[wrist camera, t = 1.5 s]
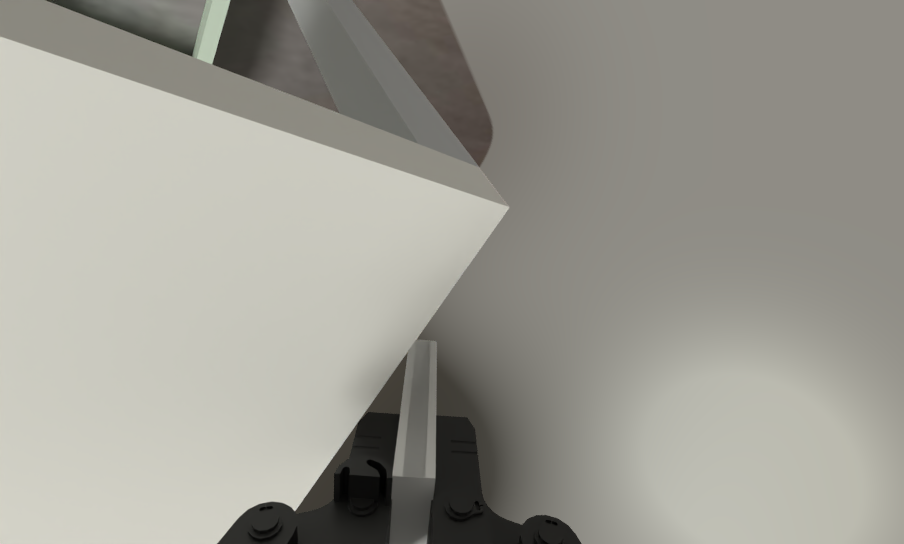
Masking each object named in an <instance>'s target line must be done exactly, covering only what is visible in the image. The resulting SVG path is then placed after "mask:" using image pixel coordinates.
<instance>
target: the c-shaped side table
mask: <svg viewBox="0 0 904 544" xmlns="http://www.w3.org/2000/svg"><path fill="white" fill-rule="evenodd" d="M288 2H289V5H290V7H291V9H292V11H293V13H294V15H295V18H296V20H297V22H298V24H299V26H300V28H301V31H302V33H303V35H304V37H305V39H306V41H307V44H308V46H309V48H310V50H311V52H312V54H313V57H314V59H315V61H316V63H317V65H318V68H319V70H320V72H321V74H322V76H323V78H324V81H325V83H326V85H327V87H328V89H329V91H330V94H331V96H332V98H333V100H334V102H335V104H336V107H337V109H338V111H339V113H340V114H339V113H337V112H334V111H332V110H329V109H326V108H324V107H321V106H319V105H316V104H313V103H311V102H308V101H306V100H303V99H300V98H298V97H295V96H293V95H290V94H287V93H285V92H282V91H280V90H277V89H274V88H272V87H269V86H267V85H264V84H261V83H259V82H256V81H254V80H251V79H248V78H246V77H243V76H241V75H238V74H235V73H233V72H230V71H228V70H225V69H222V68H220V67H217V66H215V65H212V64H209V63H207V62H204V61H202V60H199V59H196V58H194V57H191V56H189V55H186V54H184V53H181V52H178V51H176V50H173V49H171V48H168V47H165V46H163V45H160V44H158V43H155V42H152V41H150V40H147V39H145V38H142V37H139V36H137V35H134V34H132V33H129V32H126V31H124V30H121V29H119V28H116V27H113V26H111V25H108V24H106V23H103V22H100V21H98V20H95V19H93V18H90V17H87V16H85V15H82V14H80V13H77V12H74V11H72V10H69V9H67V8H64V7H61V6H59V5H56V4H54V3H51V2H48V1H46V0H0V544H217V543H218V542H219V541H220V540H221V538H222V537H223V536H224V535H225V534H226V532H227V531H228V530H229V529H230V528H231V526H232V525H233V524H234V523H235V521H236V520H237V519H238V518H239V517H240V516H241V515H242V514H243V513H244V512H246V511H247V510H248V509H250V508H252V507H254V506H256V505H258V504H261V503H266V502H281V503H284V504H286V505H288V506H290V507H292V509H293V510H294V511H295V510H296V509H297V507H298V506H299V505H300V503H301V502H302V501H303V499H304V498H305V496H306V495H307V493H308V492H309V491H310V489H311V488H312V486H313V485H314V484H315V482H316V481H317V479H318V478H319V476H320V475H321V474H322V472H323V471H324V469H325V468H326V466H327V465H328V464H329V462H330V461H331V459H332V458H333V457H334V455H335V454H336V452H337V451H338V450H339V448H340V447H341V445H342V444H343V442H344V441H345V440H346V438H347V437H348V435H349V434H350V433H351V431H352V430H353V428H354V427H355V425H356V424H357V423H358V421H359V420H360V418H361V417H362V415H363V414H364V413H365V411H366V410H367V408H368V407H369V406H370V404H371V403H372V401H373V400H374V399H375V397H376V396H377V394H378V393H379V391H380V390H381V388H382V387H383V386H384V384H385V383H386V382H387V380H388V379H389V377H390V375H391V374H392V373H393V372H394V370H395V369H396V367H397V366H398V364H399V363H400V362H401V360H402V359H403V357H404V356H405V354H406V353H407V352H408V350H409V349H410V348H411V346H412V345H413V343H414V342H415V340H416V339H417V337H418V336H419V335H420V333H421V331H423V329H424V328H425V326H426V325H427V323H428V322H429V321H430V319H431V318H432V316H433V315H434V314H435V312H436V311H437V309H438V308H439V306H440V305H441V304H442V302H443V301H444V299H445V298H446V297H447V295H448V294H449V292H450V291H451V289H452V288H453V287H454V285H455V284H456V282H457V281H458V279H459V278H460V277H461V275H462V274H463V272H464V271H465V270H466V268H467V267H468V265H469V264H470V263H471V261H472V260H473V258H474V257H475V255H476V254H477V253H478V251H479V250H480V248H481V247H482V246H483V244H484V243H485V241H486V240H487V238H488V237H489V236H490V234H491V233H492V231H493V230H494V229H495V227H496V226H497V224H498V223H499V221H500V220H501V219H502V217H503V216H504V214H505V213H506V212H507V210H508V209H509V206H508V205H507V203H506V202H505V201H504V199H503V198H502V197H501V195H500V194H499V193H498V191H497V190H496V189H495V187H494V186H493V185H492V183H491V182H490V181H489V180H488V178H487V177H486V176H485V175H484V173H483V172H482V170H481V169H480V168H479V166H478V165H477V164H476V162H475V161H474V160H473V159H472V157H471V156H470V155H469V153H468V152H467V151H466V149H465V148H464V147H463V145H462V144H461V143H460V141H459V140H458V139H457V137H456V136H455V135H454V134H453V132H452V131H451V130H450V128H449V127H448V126H447V124H446V123H445V122H444V120H443V119H442V118H441V116H440V115H439V114H438V113H437V111H436V110H435V109H434V107H433V106H432V105H431V103H430V102H429V101H428V99H427V98H426V97H425V95H424V94H423V93H422V91H421V90H420V89H419V88H418V86H417V85H416V84H415V82H414V81H413V80H412V78H411V77H410V76H409V74H408V73H407V72H406V70H405V69H404V68H403V67H402V65H401V64H400V63H399V61H398V60H397V59H396V57H395V56H394V55H393V53H392V52H391V51H390V49H389V48H388V47H387V45H386V44H385V43H384V42H383V40H382V39H381V38H380V36H379V35H378V34H377V32H376V31H375V30H374V28H373V27H372V26H371V24H370V23H369V22H368V21H367V19H366V18H365V17H364V15H363V14H362V13H361V11H360V10H359V9H358V7H357V6H356V5H355V3H354V2H353V1H352V0H288Z"/></svg>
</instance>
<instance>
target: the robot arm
mask: <svg viewBox="0 0 904 544" xmlns="http://www.w3.org/2000/svg"><path fill="white" fill-rule="evenodd" d="M436 375H437V341H427V340H415V342H414V343H413V345H412V346H411V348H410V349H409V350H408V356H407V364H406V372H405V380H404V388H403V396H402V403H401V404H402V405H401V412H400V414H388V413H373V412H368V413H367V414H366V415H365V416H364V417H363V418H362V419H361V420H360V421H359V423H358V426H357V430H356V434H355V438H354V442H353V446H352V450H351V454H350V458H349V459H347V460H346V461H345V462H344V463H342V464H341V465H339V467H338V468H337V470H336V472H335V473H334V500H332V501H331V502H330V503H329V504H327V505H325V506H323V507H321V508H319V509H316V510H312V511H308V512H304V513H299V514H296V513H295V511H294V510H293V509H292V507H290V506H288V505H286V504H284V503H281V502H266V503H261V504H258V505H256V506H254V507H252V508H250V509H248V510H247V511H246V512H244V513H243V514H242V515H241V516H240V517H239V518H238V519H237V520H236V521H235V523H234V524H233V525H232V526H231V528H230V529H229V530H228V531H227V532H226V534H225V535H224V536H223V537H222V538H221V540H220V541H219V542H218V543H217V544H581V542H580V541H579V539H578V538H577V536H576V534H575V533H574V532H573V531H572V529H571V528H570V527H569V526H568V525H567V524H565V523H563V522H562V521H561V520H559V519H557V518H554V517H550V516H547V515H536V516H534V517H531V518H529V519H527V520H526V521H525V523H524V524H523V525H520V524H518V523H514V522H512V521H509V520H506V519H504V518H502V517H500V516H498V515H497V514H495V513H494V512H493V511H492V510H491V509H490V508H489V507H488V506H487V504H486V503H485V501H484V499H483V495H482V490H481V480H480V472H479V462H478V455H477V445H476V435H475V429H474V427H473V426H472V424H471V423H470V421H469V420H468V418H465V417H451V416H450V417H449V416H436V379H437V377H436Z"/></svg>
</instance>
